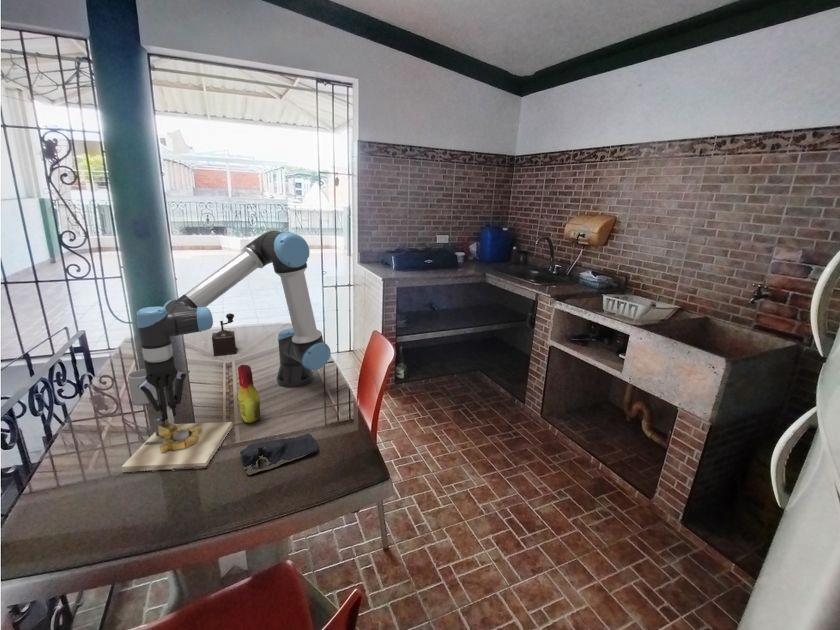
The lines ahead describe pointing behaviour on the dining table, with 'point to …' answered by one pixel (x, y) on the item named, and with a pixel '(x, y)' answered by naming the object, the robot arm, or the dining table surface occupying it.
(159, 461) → the post board
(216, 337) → the coffee grinder
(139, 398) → the mug
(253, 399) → the bottle
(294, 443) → the dark slate chunk
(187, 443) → the collar
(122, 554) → the dining table surface
